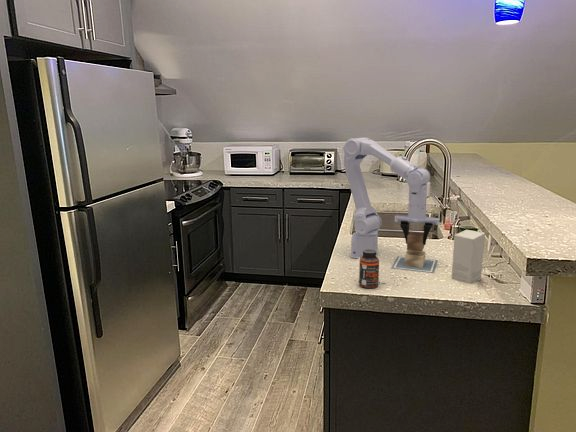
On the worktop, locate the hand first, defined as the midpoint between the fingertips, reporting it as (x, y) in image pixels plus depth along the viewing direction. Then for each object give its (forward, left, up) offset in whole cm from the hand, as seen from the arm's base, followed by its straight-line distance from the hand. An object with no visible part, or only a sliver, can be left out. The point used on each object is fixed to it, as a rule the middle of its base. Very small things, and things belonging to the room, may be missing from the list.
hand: (415, 243), depth 153 cm
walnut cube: (0, 0, -2) cm, 2 cm away
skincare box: (+17, -8, -9) cm, 21 cm away
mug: (-15, +134, -9) cm, 135 cm away
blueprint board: (0, 0, -8) cm, 8 cm away
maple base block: (0, 0, -7) cm, 7 cm away
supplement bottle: (-11, -22, -9) cm, 26 cm away
